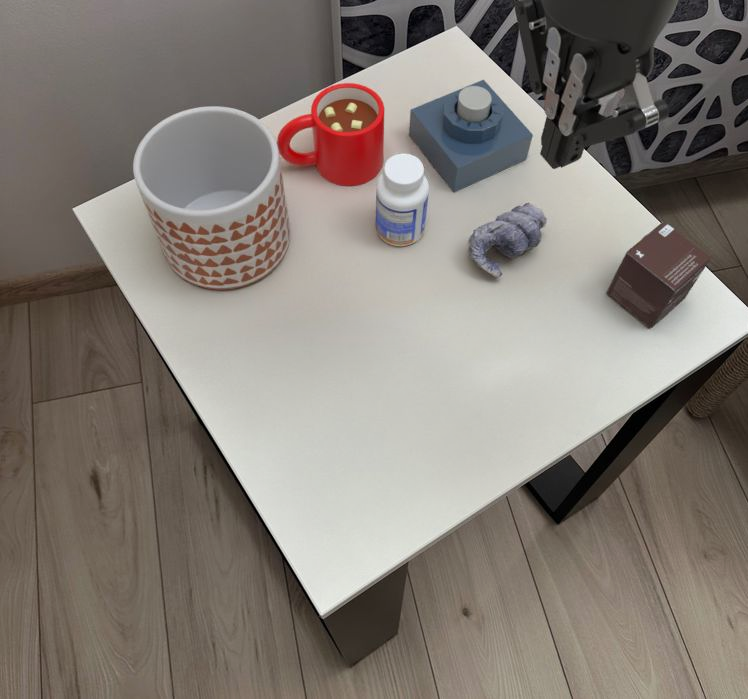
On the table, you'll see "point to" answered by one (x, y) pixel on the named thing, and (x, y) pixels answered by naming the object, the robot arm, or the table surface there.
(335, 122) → the mug
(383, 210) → the pill bottle
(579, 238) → the table surface
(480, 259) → the seashell
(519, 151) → the button housing
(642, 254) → the box
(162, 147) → the planter
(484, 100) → the grey short cylinder
